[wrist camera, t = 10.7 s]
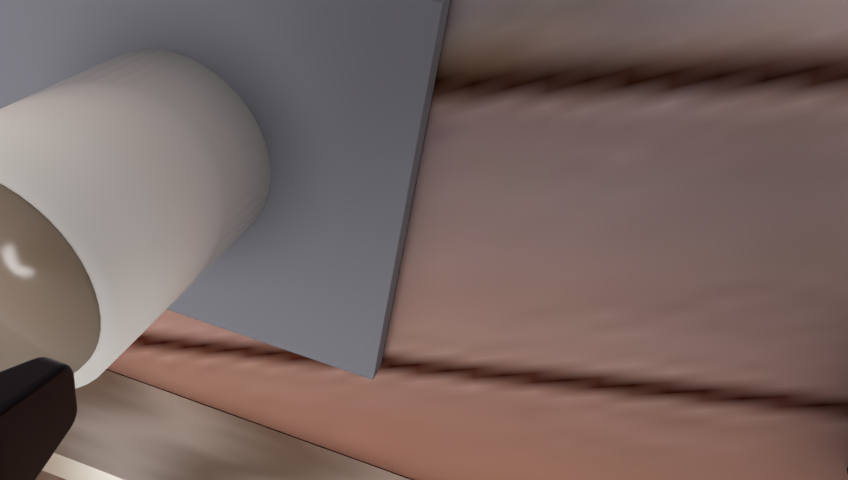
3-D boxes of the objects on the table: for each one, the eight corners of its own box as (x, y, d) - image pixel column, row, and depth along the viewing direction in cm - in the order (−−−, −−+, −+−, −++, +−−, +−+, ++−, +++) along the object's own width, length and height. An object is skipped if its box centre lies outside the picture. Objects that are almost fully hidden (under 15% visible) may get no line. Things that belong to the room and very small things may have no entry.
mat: (451, -4, 18) (442, 3, 17) (381, 364, 24) (373, 379, 24) (-44, -131, 20) (-69, -129, 19) (11, 238, 27) (-6, 250, 26)
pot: (277, 82, 20) (105, 202, 14) (264, 266, 23) (119, 429, 17) (76, 24, 20) (-168, 113, 15) (90, 210, 24) (-105, 345, 18)
